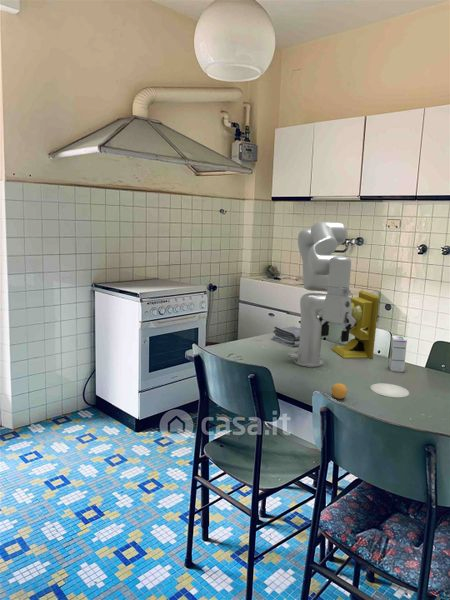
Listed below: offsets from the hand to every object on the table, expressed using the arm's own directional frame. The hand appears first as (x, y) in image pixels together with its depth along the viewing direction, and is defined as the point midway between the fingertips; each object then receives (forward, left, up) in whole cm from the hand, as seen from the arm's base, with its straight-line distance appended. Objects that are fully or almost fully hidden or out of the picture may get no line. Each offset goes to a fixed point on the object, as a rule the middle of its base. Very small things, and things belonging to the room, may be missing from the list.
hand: (334, 338), depth 164 cm
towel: (-11, +70, -22) cm, 75 cm away
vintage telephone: (+16, +57, -22) cm, 63 cm away
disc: (+24, +9, -21) cm, 33 cm away
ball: (+3, -3, -18) cm, 19 cm away
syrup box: (+33, +36, -21) cm, 53 cm away
